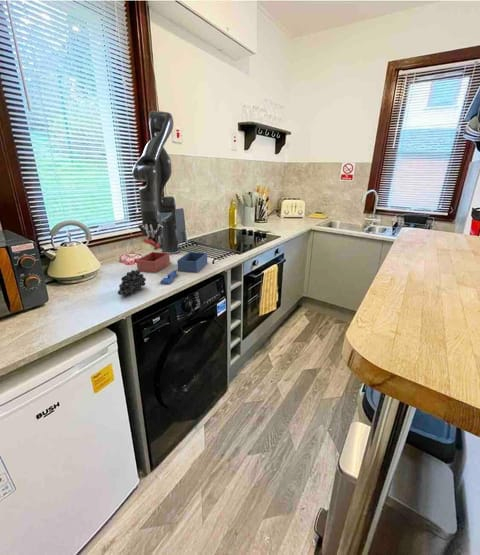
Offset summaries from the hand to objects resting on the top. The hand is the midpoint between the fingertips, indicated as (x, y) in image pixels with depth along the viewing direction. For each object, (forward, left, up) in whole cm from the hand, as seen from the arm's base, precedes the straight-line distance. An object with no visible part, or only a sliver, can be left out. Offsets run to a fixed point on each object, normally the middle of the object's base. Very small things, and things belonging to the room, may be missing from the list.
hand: (153, 244), depth 138 cm
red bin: (-1, +1, -13) cm, 13 cm away
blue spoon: (+15, -13, -13) cm, 23 cm away
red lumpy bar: (0, -1, 0) cm, 1 cm away
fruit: (+6, -30, -13) cm, 33 cm away
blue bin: (+19, +6, -13) cm, 23 cm away
